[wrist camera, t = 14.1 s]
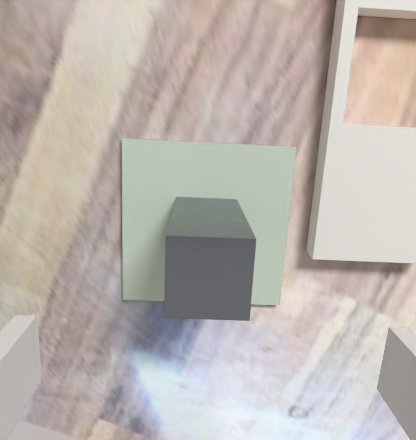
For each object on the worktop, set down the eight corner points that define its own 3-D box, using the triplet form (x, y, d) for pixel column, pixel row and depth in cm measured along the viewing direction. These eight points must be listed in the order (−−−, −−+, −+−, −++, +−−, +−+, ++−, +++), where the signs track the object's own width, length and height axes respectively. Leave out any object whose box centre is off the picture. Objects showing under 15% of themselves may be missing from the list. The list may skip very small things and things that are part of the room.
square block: (175, 253, 33) (163, 317, 22) (176, 196, 31) (165, 235, 21) (232, 255, 33) (249, 320, 22) (236, 199, 32) (256, 239, 21)
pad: (124, 296, 34) (122, 299, 34) (123, 138, 31) (121, 138, 30) (278, 302, 35) (279, 305, 34) (294, 146, 31) (296, 147, 31)
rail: (306, 251, 34) (312, 259, 32) (356, -163, 26) (369, -186, 24) (416, 255, 34) (430, 263, 32) (498, -152, 26) (521, -173, 24)
